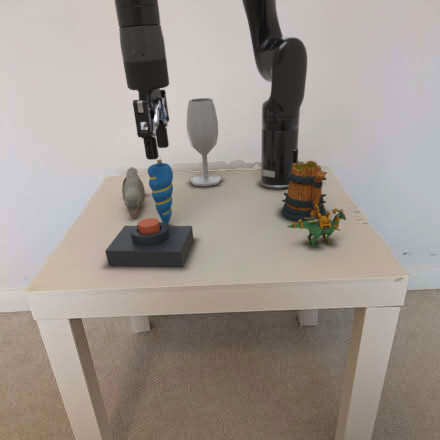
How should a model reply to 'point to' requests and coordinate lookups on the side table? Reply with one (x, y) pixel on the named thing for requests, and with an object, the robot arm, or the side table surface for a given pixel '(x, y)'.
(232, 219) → the side table surface
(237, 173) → the side table surface
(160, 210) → the ornament
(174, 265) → the buzzer
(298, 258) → the side table surface
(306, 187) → the mug
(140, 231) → the button
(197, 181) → the wineglass
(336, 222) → the figurine
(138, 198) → the decorative bird
